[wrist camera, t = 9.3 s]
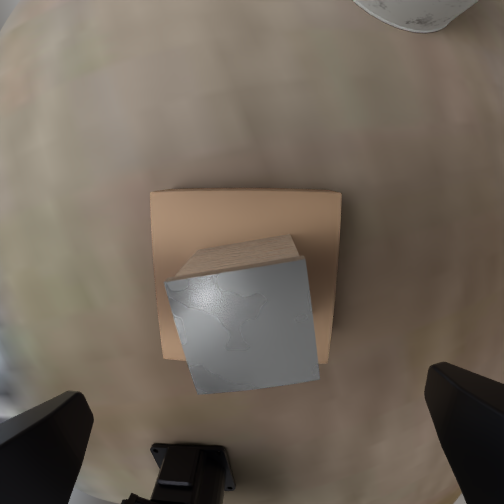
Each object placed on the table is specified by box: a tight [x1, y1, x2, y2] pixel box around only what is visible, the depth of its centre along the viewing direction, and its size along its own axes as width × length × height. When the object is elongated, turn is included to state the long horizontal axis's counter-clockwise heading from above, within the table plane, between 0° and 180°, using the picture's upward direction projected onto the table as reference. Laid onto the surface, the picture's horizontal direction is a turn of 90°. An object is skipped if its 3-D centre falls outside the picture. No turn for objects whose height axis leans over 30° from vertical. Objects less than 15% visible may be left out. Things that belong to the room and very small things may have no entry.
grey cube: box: [164, 234, 320, 394], centre depth 13 cm, size 5×5×5 cm
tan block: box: [150, 188, 342, 364], centre depth 17 cm, size 9×9×4 cm
